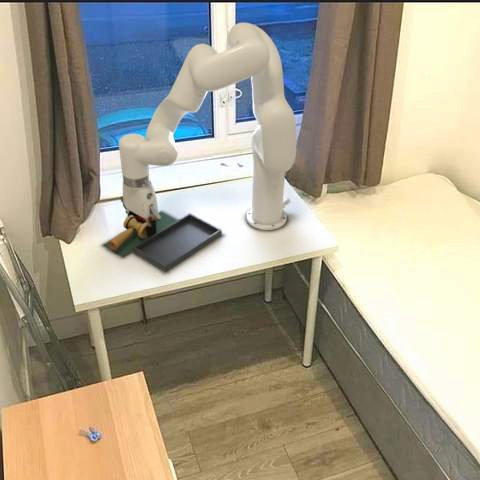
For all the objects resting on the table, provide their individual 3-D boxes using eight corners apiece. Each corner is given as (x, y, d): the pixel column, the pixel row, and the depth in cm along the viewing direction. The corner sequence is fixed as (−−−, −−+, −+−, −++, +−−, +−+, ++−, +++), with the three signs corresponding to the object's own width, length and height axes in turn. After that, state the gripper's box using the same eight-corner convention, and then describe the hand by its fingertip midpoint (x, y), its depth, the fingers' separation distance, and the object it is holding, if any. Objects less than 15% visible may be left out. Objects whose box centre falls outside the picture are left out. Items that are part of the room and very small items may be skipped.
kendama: (126, 258, 169) (164, 225, 181) (120, 240, 165) (160, 207, 177) (106, 253, 173) (145, 221, 184) (99, 235, 169) (140, 203, 181)
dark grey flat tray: (190, 218, 187) (189, 213, 185) (221, 235, 181) (221, 229, 180) (133, 252, 172) (132, 247, 171) (165, 272, 167) (165, 266, 165)
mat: (161, 212, 189) (161, 211, 188) (180, 222, 185) (180, 222, 185) (103, 245, 174) (103, 244, 174) (123, 257, 171) (122, 256, 170)
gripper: (168, 184, 166) (172, 235, 177) (126, 162, 173) (132, 213, 185) (148, 195, 161) (153, 247, 172) (105, 172, 169) (113, 223, 180)
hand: (142, 229), depth 178 cm, fingers closed on kendama, 7 cm apart
